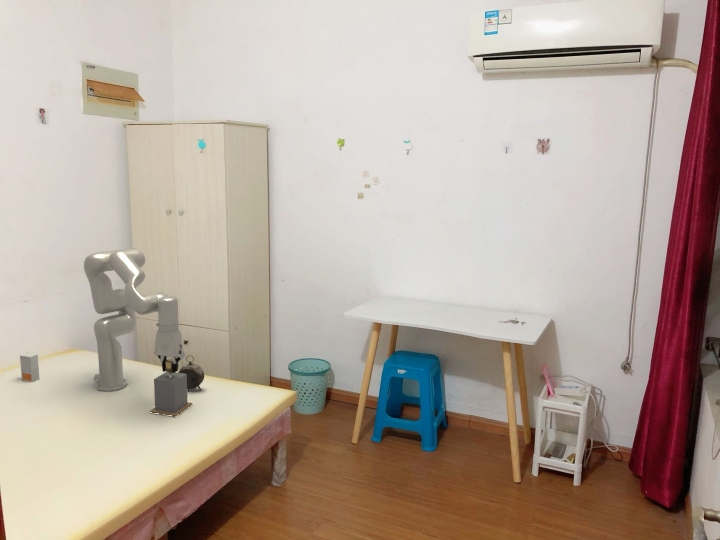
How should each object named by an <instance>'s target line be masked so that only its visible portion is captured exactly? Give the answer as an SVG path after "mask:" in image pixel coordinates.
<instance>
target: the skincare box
mask: <svg viewBox="0 0 720 540" xmlns="http://www.w3.org/2000/svg"><path fill="white" fill-rule="evenodd" d="M19 360H20V361H19V362H20V372H21V380H22V381H24V380H26V381H25V382H29V381H31V382H30V383H33V381H34V382H36V381H38V379H39V380H40V368H39V354H38V353H33V352H25V353H23V354H20V355H19Z"/></svg>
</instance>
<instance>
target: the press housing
mask: <svg viewBox="0 0 720 540" xmlns="http://www.w3.org/2000/svg"><path fill="white" fill-rule="evenodd" d="M153 385H154V386H153V389H154V391H153V393H154V407H153V408H151V409H150V410H149V413H150V412H152V413H159V414H165V415H172V416H177V415H178V414H180V413H181V412H183V411H184V410H186V409H187V408H188V407H190V406H191V405H192V404H193V405H194V403H193V402H188V389H187V374H183V373H178V372H175V373H172V378H169V372H166V371H165V372H163V373H162V374H160V375H158V376H156V377H155V378H153ZM193 405H192V406H193ZM192 406H191V407H192ZM191 407H190V408H191ZM188 409H189V408H188ZM188 409H187V410H188ZM187 410H186V411H187ZM184 412H185V411H184ZM184 412H183V413H184ZM152 413H151V414H152ZM180 415H181V414H180Z"/></svg>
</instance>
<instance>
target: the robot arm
mask: <svg viewBox="0 0 720 540" xmlns="http://www.w3.org/2000/svg"><path fill="white" fill-rule="evenodd" d="M83 261H84V262H83V269H84V270H83V271H84V273H85V277H86V278H87V280H88V283H89V287H90V291H91V298H92V304H93V308H94V310H95V312H96V314H99V315H106V314H110V313H115V312H118V314H113V315H112V314H111V315H107V316H104V317H101V318H99V319H97V320H96V321H95V322H94V325H93V331H94V336H95V338H96V345H97V357H98V359H97V361H98V373H99V374H98V373H95V374H94V376H93V379H92V380H93V381H97V383H96V385H95V386H96V387H95V388H96V390H99V391H100V392H101V391H102V392H113V391H117V390H121V389H123V388H125V387H127V385H128V381H127V379H124V368H123V367H124V366H123V351H122V344H121V343H120V341H118V340H117V338H118V337H121V336H124V335H127V334H128V335H129V334H131V333H133V332H134V331H135V330H136V327H137V321H136V316H135V313H136V314H138V315H141V316H144V315H149V314H153V313H157V320H158V322H157V323H156V327H158V329H157V330H156V334H155V339H154V340H155V341H154V352H153V354H154V355H155V356H157V358H158V359H159V361H160V362H161V369H162V372H163V373H165V372H166V370H165V361H166V360H168V358H171V359H172V360H173V363H172V373H175V372H176V373H178V371H179V362H180V361H181V360H182V359H184V358H186V357H187V356H186V354H185V352H184V346H183V345H184V344H183V337H182V333H181V330H180V325H179V324H180V323H179V300H178V297H177V296H174V295H169V294H168V293H165V292H162V291H159V292H154V293H153V292H152V293H147V294H143V295H140V293H139V292H138V291H137V290H136V288H138V287H139V286H141V284H142V283H143V282H144V281H145V278H146V273H145V271H144V270H143V269H142V268H143V266H144V265H145V264H146V257H145V254H144V252H142V250H141V249H139V248H129V249H127V248H125V249H117V250H116V249H115V250H108V251H107V250H106V251H100V252H94V253H91V254H89V255H87V256H86V257H85V259H84V260H83ZM110 271H111V272H112V271H114V272H115V274H117V276H118V277H119V278H120V279H121V280H122V281H123V283H124V284H125V286H124V288H117V289H113V285H112V280H111V278H110V277H109V276H108V275H107V274H106V273H105V272H110Z"/></svg>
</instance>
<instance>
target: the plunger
mask: <svg viewBox="0 0 720 540" xmlns="http://www.w3.org/2000/svg"><path fill="white" fill-rule="evenodd" d="M172 363H173V360H172V358H170V359H168V358H167V360H166V361H165V370H166V371H165V372H169V378H172Z"/></svg>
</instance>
